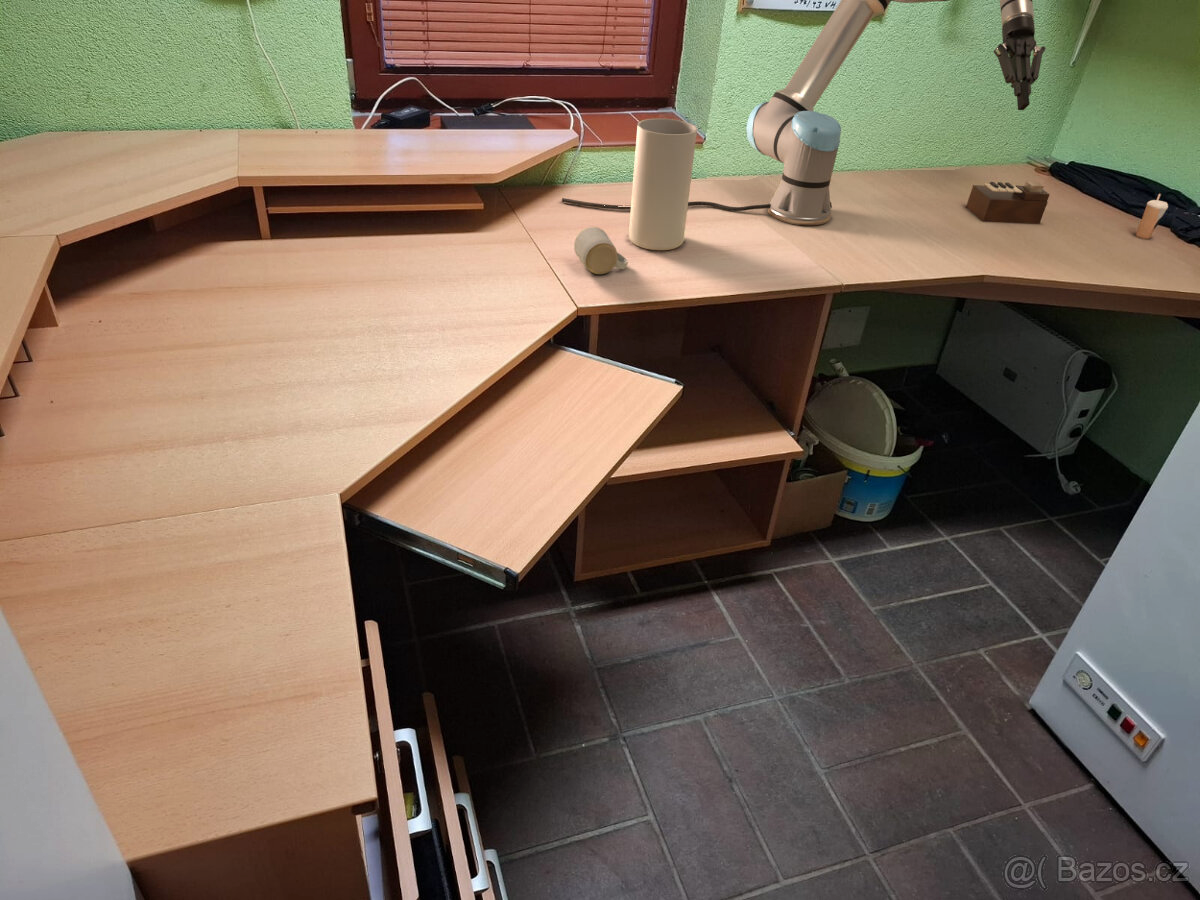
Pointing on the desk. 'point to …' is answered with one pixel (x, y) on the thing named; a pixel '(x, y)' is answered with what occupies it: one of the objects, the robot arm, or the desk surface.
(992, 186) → the keyboard
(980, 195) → the piano
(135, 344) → the desk surface
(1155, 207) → the milkshake
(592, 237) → the ceramic mug
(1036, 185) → the key
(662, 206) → the cylinder vase
